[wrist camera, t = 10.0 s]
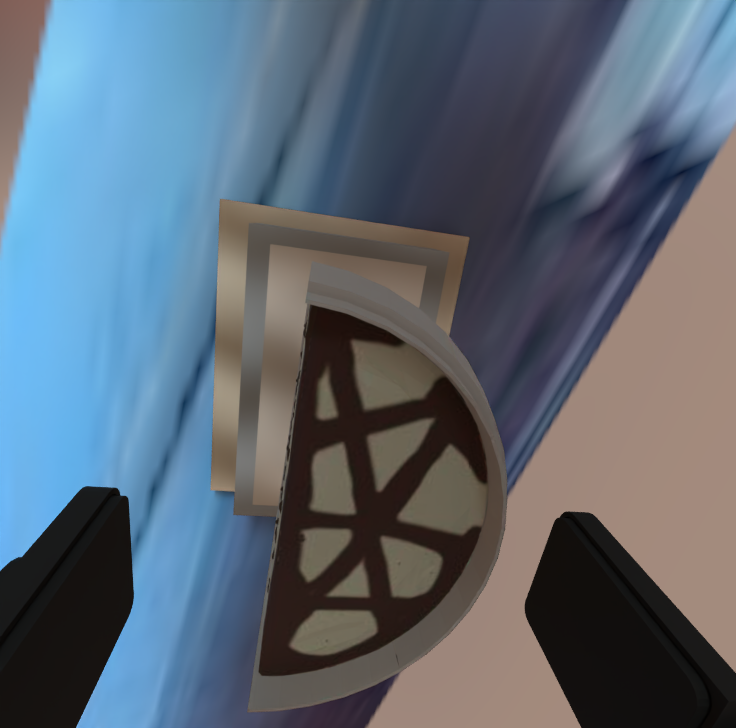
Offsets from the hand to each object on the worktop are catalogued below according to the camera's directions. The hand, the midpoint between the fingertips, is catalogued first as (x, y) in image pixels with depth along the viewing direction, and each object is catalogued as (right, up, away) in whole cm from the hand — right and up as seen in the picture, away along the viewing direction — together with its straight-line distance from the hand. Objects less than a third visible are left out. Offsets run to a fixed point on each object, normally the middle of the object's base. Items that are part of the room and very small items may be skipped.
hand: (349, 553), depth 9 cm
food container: (0, +3, +10) cm, 11 cm away
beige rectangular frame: (-2, +4, +14) cm, 15 cm away
